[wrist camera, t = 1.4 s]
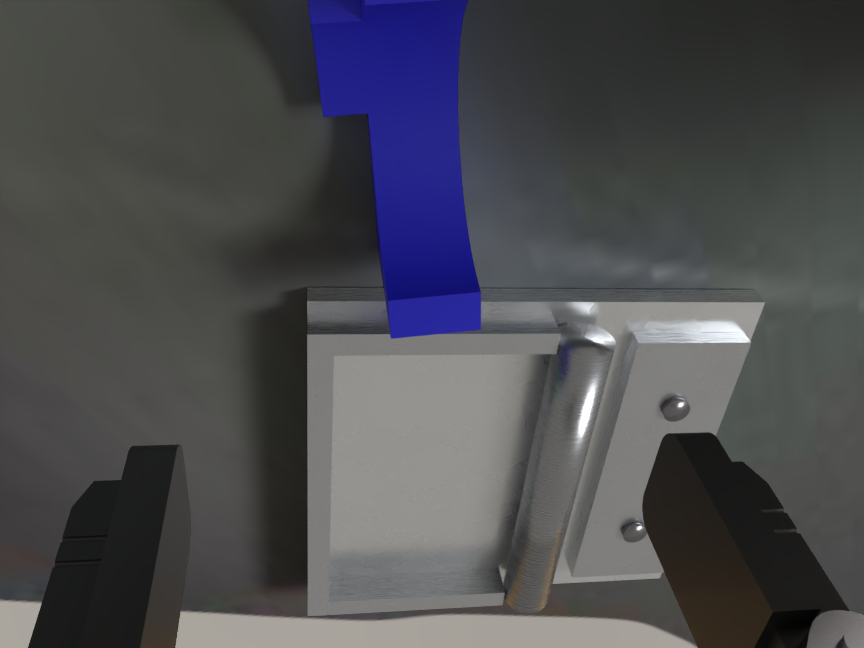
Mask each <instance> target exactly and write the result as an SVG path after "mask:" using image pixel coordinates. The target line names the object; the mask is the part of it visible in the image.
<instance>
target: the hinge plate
mask: <svg viewBox="0 0 864 648" xmlns="http://www.w3.org/2000/svg"><path fill="white" fill-rule="evenodd" d="M480 290H481V330H474V331H464V332H454V333H444V334H434V335H424V336H414V337H404V338H394V339H391V337H390V330H389V322H388V315H387V308H386V301H385V294H384V288H334V287H307V449H308V616H318V615H336V614H354V613H371V612H389V611H407V610H425V609H442V608H460V607H478V606H496V605H502V604H503V599H505V601H506V602H507V603H508V604H509V605H510V606H511V607H512V608H514V609H515V610H517V611H520V612H524V613H534V612H537V611H540V610H541V609H543V608H544V607H545V606H546V604H547V602H548V599H549V595H550V591H551V588H552V584H558V583H577V582H596V581H615V580H634V579H653V578H660V576H661V574H662V573H663V572H664V570H663V567H662V565H661V563H660V561H659V558H658V556H657V554H656V552H655V549H654V547H653V545H652V543H651V540H650V538H649V536H648V534H647V531H646V528H645V525H644V520H643V513H642V502H643V495H644V492H645V489H646V486H647V483H648V480H649V477H650V474H651V471H652V468H653V465H654V461H655V458H656V455H657V452H658V449H659V446H660V443H661V441H662V439H663V437H664V436H665V435H666V434H668V433H699V432H710V433H712V434H714V435H715V436H716V434H717V431H718V429H719V426H720V423H721V421H722V418H723V416H724V413H725V410H726V408H727V405H728V403H729V400H730V397H731V395H732V392H733V389H734V387H735V384H736V382H737V379H738V376H739V374H740V371H741V369H742V366H743V363H744V361H745V358H746V356H747V353H748V350H749V348H750V345H751V341H750V340H751V338H752V335H753V333H754V330H755V327H756V325H757V322H758V319H759V317H760V314H761V312H762V309H763V306H764V304H765V302H764V301H763V299H762V298H761V297H760V296H759V295H758V294H757V292H756V291H755V290H718V289H526V288H480Z"/></svg>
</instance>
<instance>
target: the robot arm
mask: <svg viewBox="0 0 864 648" xmlns="http://www.w3.org/2000/svg"><path fill="white" fill-rule="evenodd" d="M783 509H784V508H783V506H782V505H781V503H780V502H779V500H778V498H777V497H776V495H775V494H774V492H773V491H772V489H771V488H770V486H769V484H768V483H767V482H766V481H765V480H763V479H762V478H761V477H760V476H759V475H758V474H756V473H755V472H754V471H753V470H752V469H751V468H749V467H748V466H747V465H746V464H745V463H744V462H732V461H731V460H730V458H729V457H728V455H727V453H726V452H725V450H724V448H723V447H722V445H721V443H720V442H719V440H718V439H717V437H716V436H715V435H714V434H712V433H710V432H699V433H668V434H666V435H665V436H664V437H663V439H662V441H661V443H660V446H659V449H658V452H657V455H656V458H655V461H654V465H653V468H652V471H651V474H650V477H649V480H648V483H647V486H646V489H645V492H644V495H643V502H642V513H643V520H644V525H645V528H646V531H647V534H648V536H649V538H650V540H651V543H652V545H653V547H654V549H655V552H656V554H657V556H658V558H659V561H660V563H661V565H662V567H663V570H664V572H665V574H666V577H667V579H668V581H669V583H670V586H671V588H672V590H673V592H674V595H675V597H676V599H677V601H678V604H679V606H680V608H681V610H682V613H683V615H684V617H685V619H686V622H687V624H688V626H689V628H690V631H691V633H692V635H693V637H694V640H695V642H696V644H697V646H698V648H864V616H863V615H860V614H858V613H854V612H850V610H849V609H848V608H847V606H846V605H845V603H844V602H843V600H842V598H841V597H840V595H839V594H838V592H837V591H836V589H835V588H834V586H833V584H832V583H831V581H830V580H829V578H828V577H827V575H826V573H825V572H824V570H823V569H822V567H821V566H820V564H819V563H818V561H817V559H816V558H815V556H814V555H813V553H812V552H811V550H810V548H809V547H808V545H807V544H806V542H805V541H804V539H803V538H802V536H801V534H797V532H796V529H797V528H796V527H795V525H794V523H793V522H792V520H791V519H790V517H789V516H788V514H787V513H784V511H783ZM190 534H191V517H190V506H189V498H188V490H187V481H186V473H185V465H184V457H183V451H182V447H181V445H152V446H132V447H131V448H130V450H129V452H128V456H127V460H126V464H125V467H124V471H123V475H122V479H121V480H113V481H94V482H93V483H92V484H91V485H90V487H89V488H88V489H87V490H86V491H85V492H84V494H83V495H82V496H81V497H80V498H79V499H78V501H77V502H76V503H75V504H74V505H73V507H72V508H71V511H70V515H69V518H68V521H67V524H66V527H65V531H64V534H63V541H62V543H61V544H60V547H59V550H58V553H57V556H56V560H55V567H53V569H52V572H51V576H50V579H49V582H48V585H47V589H46V592H45V595H44V598H43V601H42V605H41V608H40V611H39V614H38V617H37V621H36V624H35V627H34V630H33V634H32V637H31V640H30V643H29V647H28V648H175V645H176V638H177V631H178V623H179V618H180V611H181V604H182V597H183V590H184V583H185V576H186V570H187V563H188V556H189V548H190Z"/></svg>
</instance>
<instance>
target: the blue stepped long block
mask: <svg viewBox="0 0 864 648" xmlns="http://www.w3.org/2000/svg"><path fill="white" fill-rule="evenodd" d="M467 2H468V0H308V4H309V13H310V21H311V29H312V35H313V42H314V49H315V57H316V64H317V72H318V80H319V88H320V96H321V105H322V113H323V117H329V116H342V115H355V114H367V118H368V130H369V142H370V154H371V167H372V179H373V191H374V203H375V215H376V228H377V240H378V251H379V259H380V266H381V273H382V280H383V287H384V294H385V301H386V308H387V315H388V322H389V330H390V337H391V339H394V338H404V337H414V336H424V335H434V334H444V333H454V332H464V331H474V330H481V290H480V287H479V284H478V280H477V276H476V272H475V267H474V263H473V258H472V253H471V247H470V241H469V235H468V228H467V221H466V214H465V206H464V197H463V187H462V176H461V163H460V148H459V128H458V65H459V48H460V37H461V29H462V22H463V16H464V12H465V8H466V5H467Z"/></svg>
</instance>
